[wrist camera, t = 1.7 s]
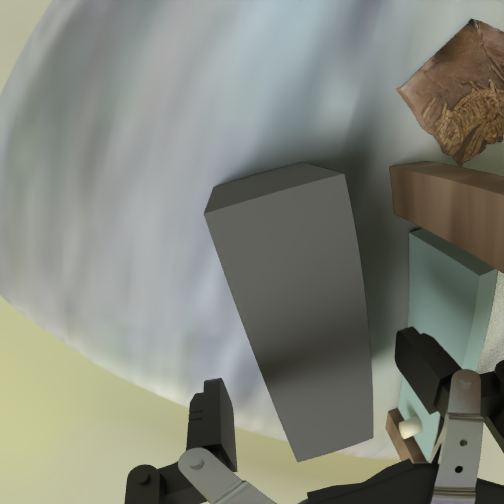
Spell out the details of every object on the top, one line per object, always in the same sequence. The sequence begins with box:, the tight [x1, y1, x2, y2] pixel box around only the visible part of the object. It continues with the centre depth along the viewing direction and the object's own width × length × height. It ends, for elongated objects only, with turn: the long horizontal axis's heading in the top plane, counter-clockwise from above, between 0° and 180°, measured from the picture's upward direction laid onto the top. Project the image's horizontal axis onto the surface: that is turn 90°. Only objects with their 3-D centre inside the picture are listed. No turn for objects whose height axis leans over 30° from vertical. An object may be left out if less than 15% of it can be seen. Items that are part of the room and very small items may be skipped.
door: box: [398, 229, 498, 461], centre depth 17 cm, size 3×17×7 cm, turn 12°
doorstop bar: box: [204, 162, 373, 462], centre depth 16 cm, size 16×5×7 cm, turn 16°
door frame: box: [386, 161, 504, 463], centre depth 15 cm, size 3×26×12 cm, turn 13°
